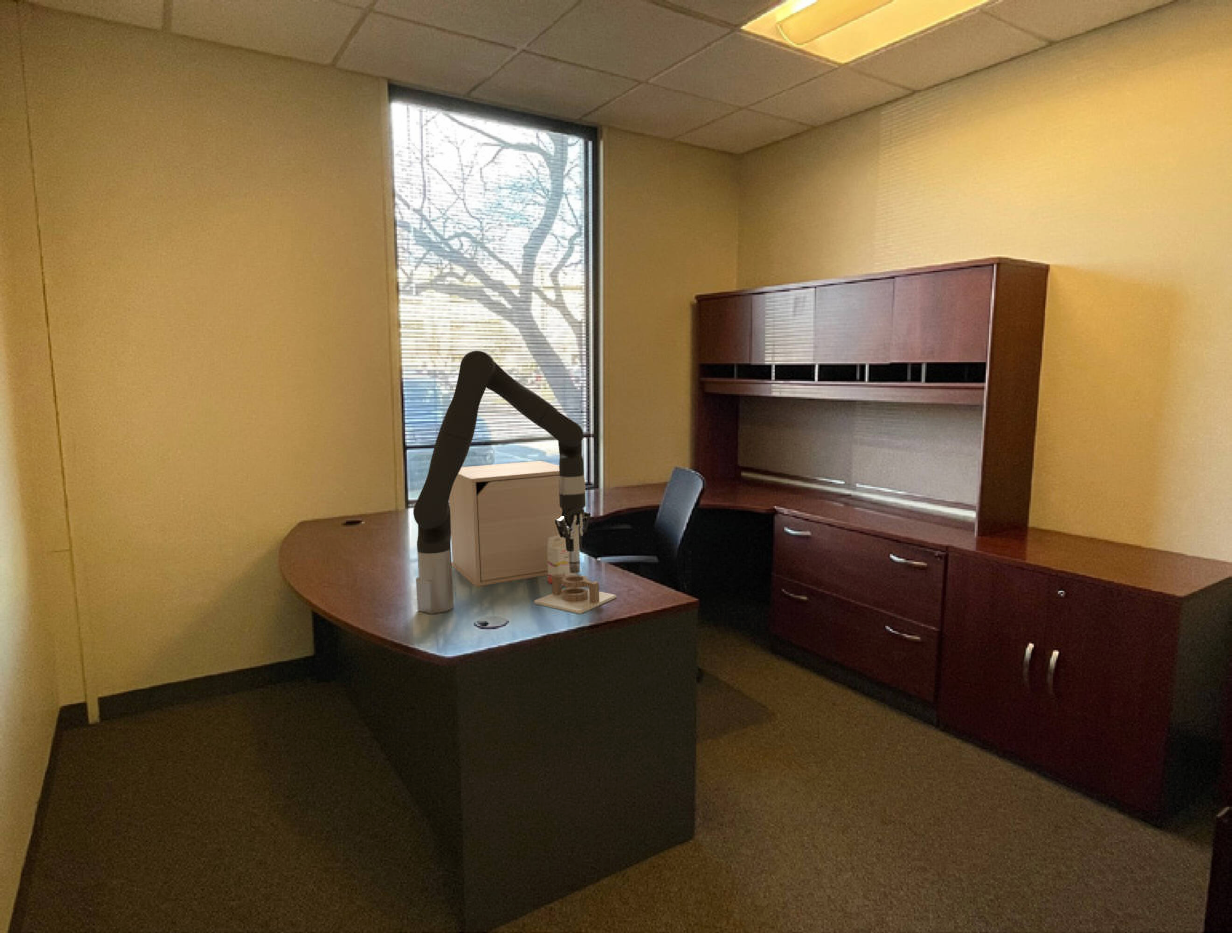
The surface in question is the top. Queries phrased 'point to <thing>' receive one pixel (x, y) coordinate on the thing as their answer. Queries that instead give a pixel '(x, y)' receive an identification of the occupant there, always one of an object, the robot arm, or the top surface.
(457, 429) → the robot arm
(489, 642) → the top surface
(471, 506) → the cabinet
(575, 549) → the tube
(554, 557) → the ink cartridge box
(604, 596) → the dock
